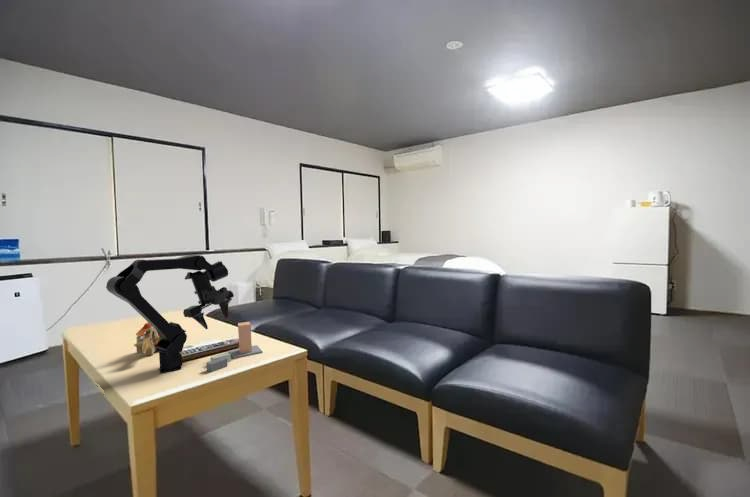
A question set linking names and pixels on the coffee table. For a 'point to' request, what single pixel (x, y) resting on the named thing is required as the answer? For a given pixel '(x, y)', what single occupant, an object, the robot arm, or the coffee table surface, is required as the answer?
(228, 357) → the sage brick
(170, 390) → the coffee table surface
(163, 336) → the robot arm
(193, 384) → the coffee table surface
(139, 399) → the coffee table surface
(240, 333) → the terracotta block
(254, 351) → the slate pad
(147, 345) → the toy house
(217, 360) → the charcoal brick
